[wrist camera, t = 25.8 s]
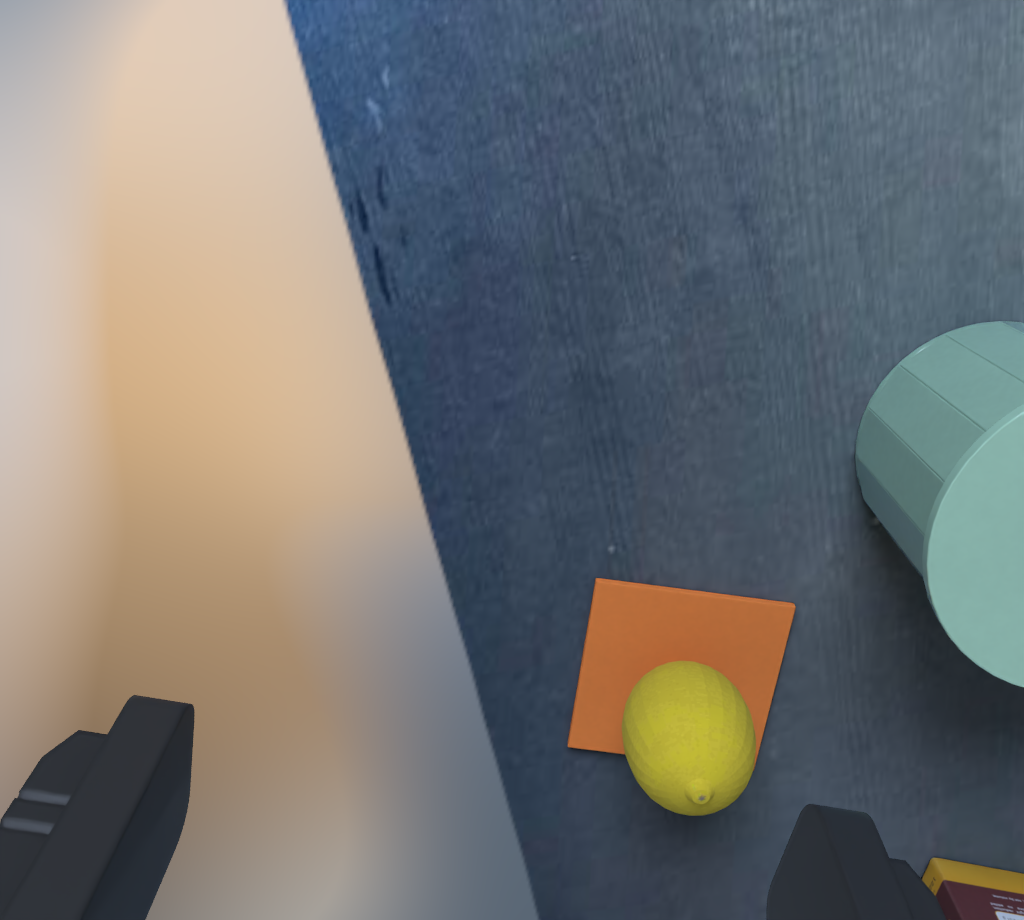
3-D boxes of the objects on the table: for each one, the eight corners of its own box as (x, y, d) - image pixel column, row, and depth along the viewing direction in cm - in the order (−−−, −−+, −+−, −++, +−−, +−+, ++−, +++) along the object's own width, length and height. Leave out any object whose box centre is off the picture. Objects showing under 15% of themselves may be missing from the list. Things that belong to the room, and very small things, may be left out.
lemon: (659, 749, 46) (680, 876, 38) (593, 667, 44) (601, 782, 37) (760, 693, 45) (801, 813, 37) (694, 607, 43) (724, 713, 36)
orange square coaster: (567, 742, 46) (567, 747, 46) (595, 577, 43) (596, 581, 43) (752, 765, 46) (753, 771, 46) (794, 602, 43) (796, 607, 43)
